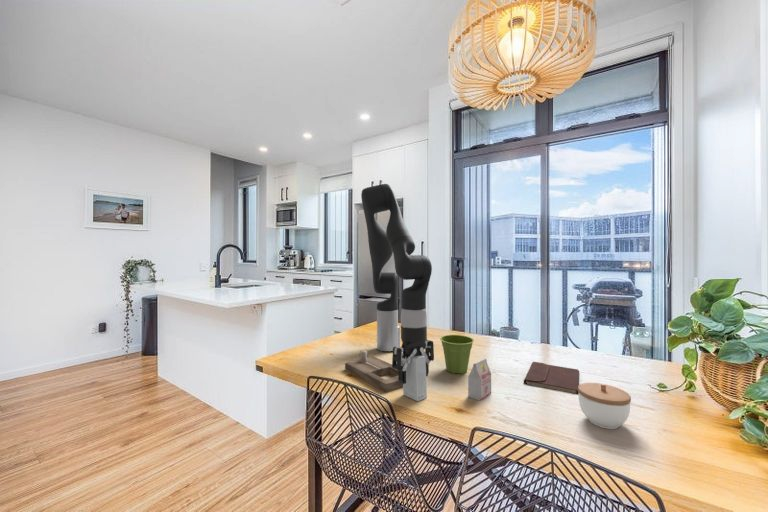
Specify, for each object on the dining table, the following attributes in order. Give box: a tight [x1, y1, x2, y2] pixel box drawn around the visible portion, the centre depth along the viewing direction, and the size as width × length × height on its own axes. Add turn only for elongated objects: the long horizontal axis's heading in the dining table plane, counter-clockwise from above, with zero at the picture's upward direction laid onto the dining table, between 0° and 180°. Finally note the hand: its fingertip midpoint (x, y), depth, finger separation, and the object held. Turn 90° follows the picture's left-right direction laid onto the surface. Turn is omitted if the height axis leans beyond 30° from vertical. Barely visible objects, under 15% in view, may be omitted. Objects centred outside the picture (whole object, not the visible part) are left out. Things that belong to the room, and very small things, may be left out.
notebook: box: [523, 361, 580, 395], centre depth 108 cm, size 15×20×2 cm
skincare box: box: [402, 355, 428, 402], centre depth 94 cm, size 6×4×12 cm
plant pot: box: [439, 334, 475, 374], centre depth 115 cm, size 12×12×11 cm
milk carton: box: [467, 358, 492, 401], centre depth 95 cm, size 4×7×10 cm, turn 135°
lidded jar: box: [578, 382, 632, 430], centre depth 79 cm, size 11×11×9 cm
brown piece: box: [344, 350, 403, 393], centre depth 110 cm, size 12×24×6 cm, turn 37°
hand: (413, 379), depth 94 cm, fingers open, 8 cm apart
